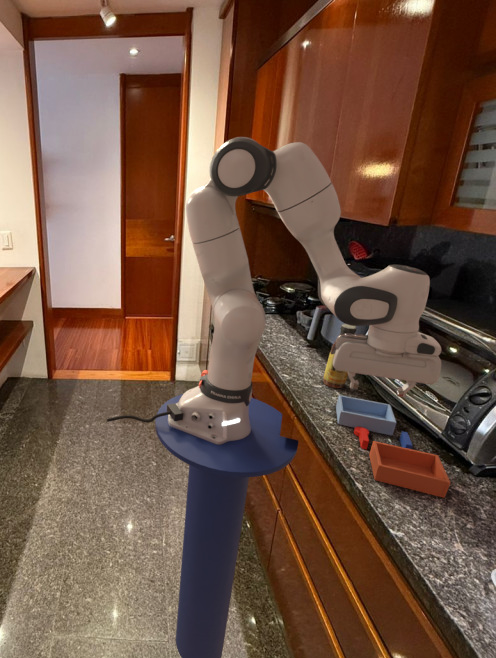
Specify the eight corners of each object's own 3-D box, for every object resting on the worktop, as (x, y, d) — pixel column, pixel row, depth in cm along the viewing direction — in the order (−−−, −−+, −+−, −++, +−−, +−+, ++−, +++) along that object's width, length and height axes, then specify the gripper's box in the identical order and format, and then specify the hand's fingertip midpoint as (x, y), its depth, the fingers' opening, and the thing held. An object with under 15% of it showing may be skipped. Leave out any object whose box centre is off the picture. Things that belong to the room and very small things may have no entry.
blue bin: (337, 424, 103) (340, 411, 101) (335, 407, 111) (338, 394, 109) (392, 435, 98) (396, 422, 96) (386, 417, 106) (390, 404, 104)
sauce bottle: (326, 388, 120) (339, 329, 113) (319, 379, 126) (331, 322, 118) (349, 390, 119) (364, 330, 112) (340, 380, 125) (354, 322, 118)
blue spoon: (394, 438, 97) (396, 430, 96) (409, 441, 96) (412, 433, 95) (400, 457, 90) (403, 449, 90) (417, 461, 89) (420, 452, 88)
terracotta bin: (374, 480, 84) (378, 465, 82) (369, 454, 91) (373, 440, 90) (444, 498, 79) (450, 482, 77) (432, 469, 87) (438, 455, 85)
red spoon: (371, 450, 93) (373, 442, 92) (356, 447, 94) (358, 439, 93) (367, 432, 99) (369, 424, 99) (353, 429, 101) (355, 421, 100)
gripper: (338, 336, 88) (327, 389, 93) (451, 350, 80) (432, 407, 85) (336, 327, 93) (326, 378, 99) (442, 339, 85) (425, 394, 90)
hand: (376, 391), depth 92 cm, fingers open, 8 cm apart
